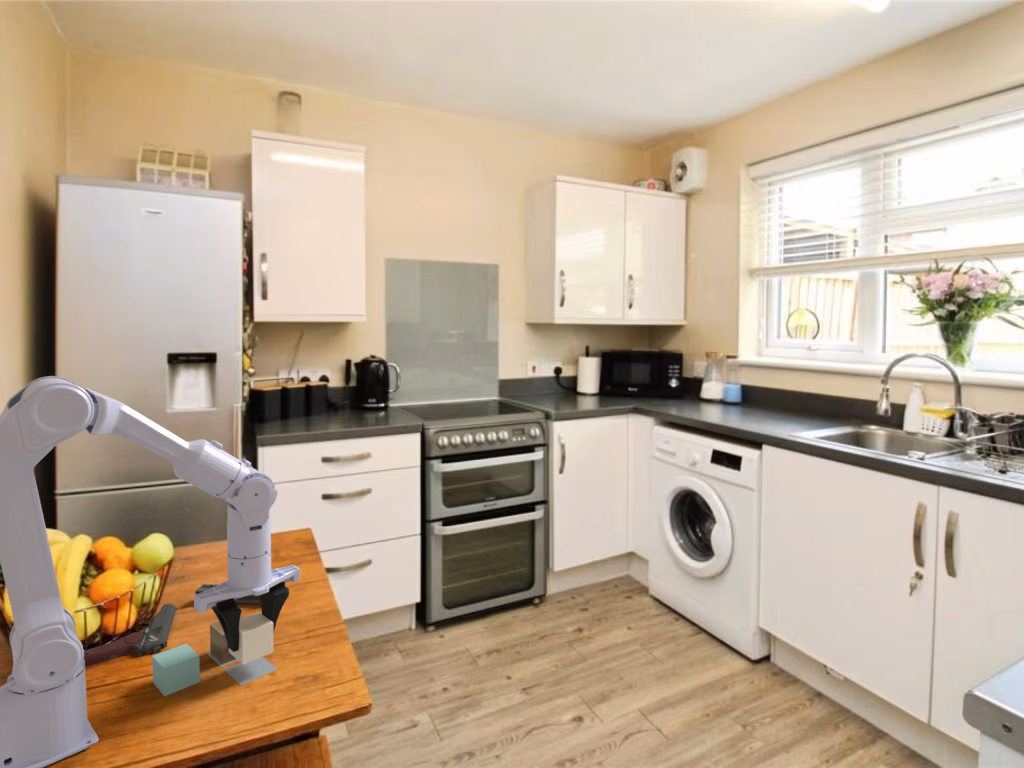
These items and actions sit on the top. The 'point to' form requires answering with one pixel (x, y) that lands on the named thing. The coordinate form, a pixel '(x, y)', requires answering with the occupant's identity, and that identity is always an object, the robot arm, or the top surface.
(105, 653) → the pistol
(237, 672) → the white tray board
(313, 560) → the top surface
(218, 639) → the walnut cube
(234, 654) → the cream cube
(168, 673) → the teal cube
